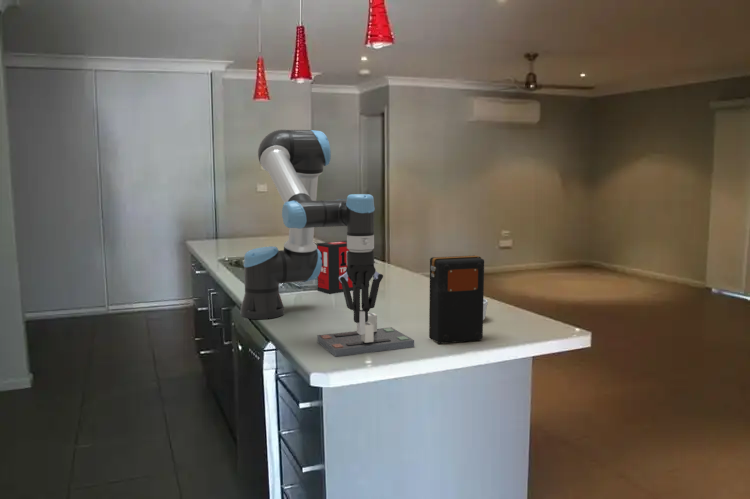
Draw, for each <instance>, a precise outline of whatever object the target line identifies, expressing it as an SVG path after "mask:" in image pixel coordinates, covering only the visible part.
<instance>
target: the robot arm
mask: <svg viewBox="0 0 750 499" xmlns="http://www.w3.org/2000/svg"><path fill="white" fill-rule="evenodd" d="M331 154H332V152H331V145H330V142H329V139H328V136H327V135H326V134H325V133H324V132H323V131H321V130H312V129H277V130H274V131H272V132H269V133H267V135H266V136H265V137H264V138H262V140H261V142H260V144H259V146H258V150H257V158H258V161H259V164H260V165H261V168H262V169H263V170H264V171H266V172H267V173H268V174H269V176H270V178H271V180H272V182H273V184H274V186H275V188H276V190H277V192H278V194H279V196H280V198H281V200H282V202H283V205H282V208H281V218H282V221H283V224H284V226H285V227H286V228H288V229H289V232H288V239H287V241H285V242H284V244H283V249H282V250H279V247H276V246H263V247H262V246H261V247H257V248H256V247H255V248H253V249H250V250H248V251H246V252H245V254H244V256H243V258H244V259H243V268H244V269H243V270H244V272H243V273H244V296H243V299H242V303H241V305H240V309H239V310H240V312H239V313H240V317H242V318H245V319H251V320H266V319H267V320H269V319H275V318H280V317H282V316H284V315H285V306H284V303H283V300H282V298H281V294H280V289H279V288H280V286H279V285H280V284H289V283H290V284H291V283H306V282H310V281H311V282H312V281H314V280H316V279H318V278H317V277H318V276H319V274H320V271H321V267H322V260H321V258H322V256H321V252H320V251H319V249H317V243H315V242H314V237H315V236H314V233H315V228H328V227H330V228H332V227H334V228H335V227H346V241H347V249H349V251H348V252H347V269H346V273H344V274H343V275H342V276H338V280H339V281H340V282H341V284H342V288H343V292H342V293H343V297H344V300H345V304H346V308H348V309H349V310H351V311H352V312H353V321H354V323H355V324H356V331H357V333H358V334H360V335H363V334H365V322H367V321H368V313H369V312H370V310H371V309H374V308H375V306H376V301H377V297H378V293H379V289H380V283H381V282H382V279H384V274H382V273H379V272H378V271H376V267H375V252H374V249H375V211H376V208H375V201H374V199H375V198H374V196H373V195H372V194H368V193H356V194H355V193H352V194H348V195H347V197H346V198H344V199H343V198H338V199H333V200H332V199H331V200H325V199H324V200H317V195H318V183H319V176H320V175H321V174H323V172H324V167H327V166H329V164H330V163H331V157H332V156H331ZM348 277H349V278H350V280H351V281H352V286H353V291H352V294H351V291H350V289H349V285H348V282H347V281H348ZM372 278H373V279H372ZM371 279H372V282H371ZM370 282H371V286H370ZM360 287H361V289H360ZM369 287H370V290H369ZM369 291H370V292H369ZM268 318H269V319H268Z"/></svg>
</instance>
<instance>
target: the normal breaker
mask: <svg viewBox="0 0 750 499" xmlns="http://www.w3.org/2000/svg"><path fill="white" fill-rule="evenodd" d="M367 322H370V323H372V324H373V332H376V331H377V329H378V315H377V314H376V313H374V312H368V321H367Z"/></svg>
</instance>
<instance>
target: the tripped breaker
mask: <svg viewBox="0 0 750 499" xmlns="http://www.w3.org/2000/svg"><path fill="white" fill-rule="evenodd" d="M361 340H362V341H363V342H365V343H368V342H374V332H373V324H372V323H370V322H365V334H363V335H361Z"/></svg>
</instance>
